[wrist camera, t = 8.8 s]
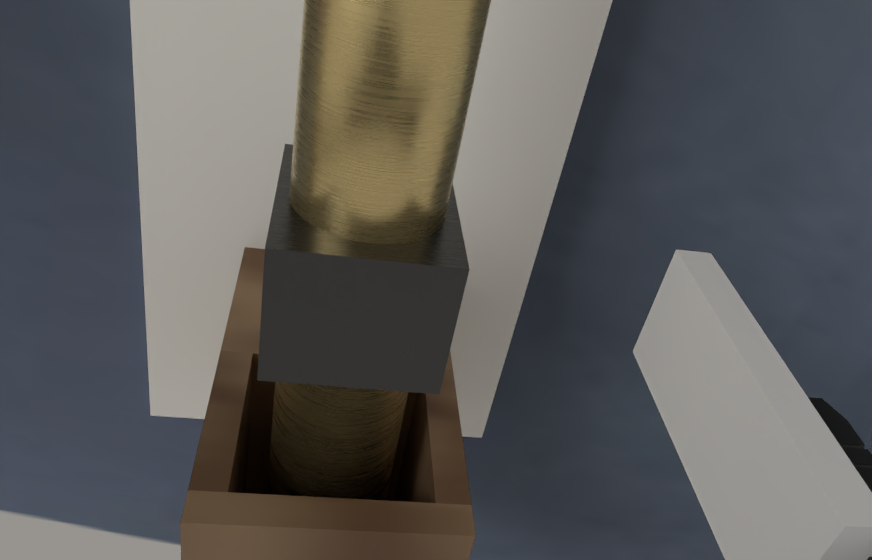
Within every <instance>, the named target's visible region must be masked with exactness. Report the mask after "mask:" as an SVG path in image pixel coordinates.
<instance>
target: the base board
mask: <svg viewBox="0 0 872 560" xmlns="http://www.w3.org/2000/svg"><path fill="white" fill-rule="evenodd" d="M612 1H613V0H491V3H490V8H489V13H488V18H487V22H486V27H485V32H484V37H483V41H482V46H481V51H480V55H479V60H478V65H477V70H476V74H475V79H474V84H473V89H472V93H471V98H470V103H469V108H468V112H467V117H466V122H465V126H464V131H463V136H462V141H461V145H460V150H459V155H458V160H457V164H456V169H455V174H454V179H453V187H454V192H455V197H456V203H457V208H458V213H459V218H460V223H461V228H462V233H463V238H464V244H465V249H466V254H467V259H468V264H469V269H470V270H469V274H468V278H467V282H466V286H465V290H464V294H463V298H462V302H461V307H460V311H459V315H458V319H457V323H456V327H455V331H454V335H453V340H452V344H451V348H450V352H451V359H452V366H453V374H454V381H455V388H456V395H457V403H458V410H459V417H460V424H461V432H462V436H463V437H478V438H482V435H483V432H484V429H485V425H486V422H487V419H488V415H489V412H490V409H491V405H492V402H493V399H494V395H495V392H496V389H497V385H498V382H499V379H500V375H501V372H502V369H503V365H504V362H505V359H506V355H507V352H508V349H509V345H510V342H511V338H512V335H513V332H514V328H515V325H516V322H517V318H518V315H519V312H520V308H521V305H522V302H523V298H524V295H525V292H526V288H527V285H528V282H529V278H530V275H531V272H532V268H533V265H534V262H535V258H536V255H537V252H538V248H539V245H540V242H541V238H542V235H543V231H544V228H545V225H546V221H547V218H548V215H549V211H550V208H551V205H552V201H553V198H554V195H555V191H556V188H557V185H558V181H559V178H560V175H561V171H562V168H563V165H564V161H565V158H566V155H567V151H568V148H569V145H570V141H571V138H572V135H573V131H574V128H575V124H576V121H577V118H578V114H579V111H580V108H581V104H582V101H583V98H584V94H585V91H586V88H587V84H588V81H589V78H590V74H591V71H592V68H593V64H594V61H595V58H596V54H597V51H598V48H599V44H600V41H601V38H602V34H603V31H604V28H605V24H606V21H607V17H608V14H609V11H610V7H611V4H612ZM303 9H304V0H130V15H131V35H132V55H133V75H134V95H135V115H136V135H137V155H138V175H139V195H140V215H141V235H142V255H143V275H144V295H145V315H146V335H147V355H148V375H149V395H150V415H151V416H166V417H181V418H195V419H205V415H206V411H207V407H208V402H209V398H210V394H211V389H212V385H213V381H214V377H215V372H216V368H217V364H218V360H219V355H220V351H221V347H222V342H223V338H224V334H225V330H226V325H227V321H228V317H229V312H230V308H231V304H232V300H233V295H234V291H235V287H236V282H237V278H238V274H239V270H240V265H241V261H242V257H243V253H244V248H245V247H249V248H259V249H265V245H266V240H267V235H268V229H269V224H270V219H271V214H272V209H273V204H274V199H275V193H276V188H277V183H278V178H279V173H280V168H281V162H282V157H283V152H284V147H285V144H291V145H293V141H294V127H295V114H296V101H297V88H298V75H299V62H300V48H301V35H302V22H303Z"/></svg>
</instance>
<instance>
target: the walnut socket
mask: <svg viewBox="0 0 872 560" xmlns="http://www.w3.org/2000/svg"><path fill="white" fill-rule="evenodd" d="M264 254H265V249H259V248H249V247H245V248H244V253H243V257H242V261H241V265H240V270H239V274H238V278H237V282H236V287H235V291H234V295H233V300H232V304H231V308H230V312H229V317H228V321H227V325H226V330H225V334H224V338H223V342H222V347H221V351H220V355H219V360H218V364H217V368H216V372H215V377H214V381H213V385H212V389H211V394H210V398H209V402H208V407H207V411H206V415H205V419H204V424H203V428H202V432H201V437H200V441H199V445H198V449H197V454H196V458H195V462H194V467H193V471H192V475H191V479H190V484H189V488H188V492H187V496H186V501H185V505H184V509H183V514H182V518H181V522H180V528H181V560H468V559H469V556H470V553H471V550H472V547H473V544H474V541H475V538H476V533H475V526H474V518H473V511H472V504H471V497H470V489H469V482H468V475H467V468H466V460H465V453H464V446H463V439H462V432H461V424H460V417H459V410H458V403H457V395H456V388H455V381H454V374H453V366H452V359H451V352H449V356H448V360H447V364H446V368H445V372H444V377H443V381H442V385H441V389H440V393H439V394H428V393H415V392H408V396H407V401H406V406H405V411H404V415H403V420H402V425H401V429H400V434H399V439H398V444H397V448H396V453H395V458H394V463H393V467H392V472H391V477H390V482H389V486H388V491H387V496H386V500H385V501H384V500H365V499H346V498H327V497H308V496H289V495H270V494H267V482H268V469H269V456H270V443H271V430H272V417H273V404H274V390H275V382H270V381H257V375H258V358H259V340H260V323H261V306H262V289H263V272H264Z"/></svg>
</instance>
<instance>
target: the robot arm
mask: <svg viewBox="0 0 872 560" xmlns="http://www.w3.org/2000/svg"><path fill="white" fill-rule="evenodd" d="M633 354H634V356H635V358H636V360H637V363H638V365H639V367H640V369H641V372H642V374H643V376H644V378H645V381H646V383H647V385H648V387H649V390H650V392H651V394H652V396H653V399H654V401H655V403H656V405H657V408H658V410H659V412H660V414H661V417H662V419H663V421H664V423H665V426H666V428H667V430H668V432H669V435H670V437H671V439H672V441H673V444H674V446H675V448H676V450H677V453H678V455H679V457H680V460H681V462H682V464H683V466H684V469H685V471H686V473H687V475H688V478H689V480H690V482H691V484H692V487H693V489H694V491H695V493H696V496H697V498H698V500H699V502H700V505H701V507H702V509H703V511H704V514H705V516H706V518H707V520H708V523H709V525H710V527H711V529H712V532H713V534H714V536H715V538H716V541H717V543H718V545H719V547H720V550H721V552H722V554H723V556H724V559H725V560H872V455H871V453H870V452H869V451H868V450H866V449H864V443H863V442H862V441H861V439H860V438H859V436H858V435H857V434H856V432H855V431H854V429H853V428H852V426H851V425H850V424H849V422H848V421H847V420H846V419H845V418H844V417H843V416H841V415H840V414H839V413H838V412H837V411H836V410H835V409H833V408H832V407H831V406H830V405H829V404H828V403H826V402H825V401H824V400H823V399H821V398H808V397H807V395H806V394H805V393H804V391H803V390H802V388H801V387H800V385H799V384H798V382H797V381H796V379H795V378H794V376H793V375H792V373H791V372H790V370H789V369H788V367H787V366H786V364H785V363H784V361H783V360H782V358H781V357H780V355H779V354H778V352H777V351H776V349H775V348H774V346H773V345H772V343H771V342H770V340H769V339H768V337H767V336H766V335H765V333H764V332H763V330H762V329H761V327H760V326H759V324H758V323H757V321H756V320H755V318H754V317H753V315H752V314H751V312H750V311H749V309H748V308H747V306H746V305H745V303H744V302H743V300H742V299H741V297H740V296H739V294H738V293H737V291H736V290H735V288H734V287H733V285H732V284H731V282H730V281H729V280H728V278H727V277H726V275H725V274H724V272H723V271H722V269H721V268H720V266H719V265H718V263H717V262H716V260H715V259H714V257H713V256H712V254H711V253H705V252H695V251H686V250H676V251H675V253H674V256H673V258H672V260H671V263H670V265H669V267H668V270H667V272H666V274H665V277H664V279H663V281H662V284H661V286H660V288H659V291H658V293H657V295H656V298H655V300H654V302H653V305H652V307H651V310H650V312H649V314H648V317H647V319H646V321H645V324H644V326H643V328H642V331H641V333H640V335H639V338H638V340H637V342H636V345H635V347H634V349H633Z"/></svg>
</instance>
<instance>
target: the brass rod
mask: <svg viewBox="0 0 872 560" xmlns="http://www.w3.org/2000/svg"><path fill="white" fill-rule="evenodd" d="M490 3H491V0H304V9H303V22H302V35H301V48H300V62H299V75H298V88H297V101H296V114H295V127H294V141H293V145H291V144H285V147H284V152H283V157H282V162H281V168H280V173H279V178H278V183H277V188H276V193H275V199H274V204H273V209H272V214H271V219H270V224H269V229H268V235H267V240H266V245H265V254H264V272H263V289H262V306H261V323H260V340H259V358H258V375H257V381H270V382H275V390H274V404H273V417H272V430H271V443H270V456H269V469H268V482H267V494H270V495H289V496H308V497H327V498H346V499H365V500H384V501H385V500H386V496H387V491H388V486H389V482H390V477H391V472H392V467H393V463H394V458H395V453H396V448H397V444H398V439H399V434H400V429H401V425H402V420H403V415H404V411H405V406H406V401H407V396H408V392H415V393H428V394H439V393H440V389H441V385H442V381H443V377H444V372H445V368H446V364H447V360H448V356H449V352H450V348H451V344H452V340H453V335H454V331H455V327H456V323H457V319H458V315H459V311H460V307H461V302H462V298H463V294H464V290H465V286H466V282H467V278H468V274H469V270H470V269H469V264H468V259H467V254H466V249H465V244H464V238H463V233H462V228H461V223H460V218H459V213H458V208H457V203H456V197H455V192H454V187H453V179H454V174H455V169H456V164H457V160H458V155H459V150H460V145H461V141H462V136H463V131H464V126H465V122H466V117H467V112H468V108H469V103H470V98H471V93H472V89H473V84H474V79H475V74H476V70H477V65H478V60H479V55H480V51H481V46H482V41H483V37H484V32H485V27H486V22H487V18H488V13H489V8H490Z"/></svg>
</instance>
